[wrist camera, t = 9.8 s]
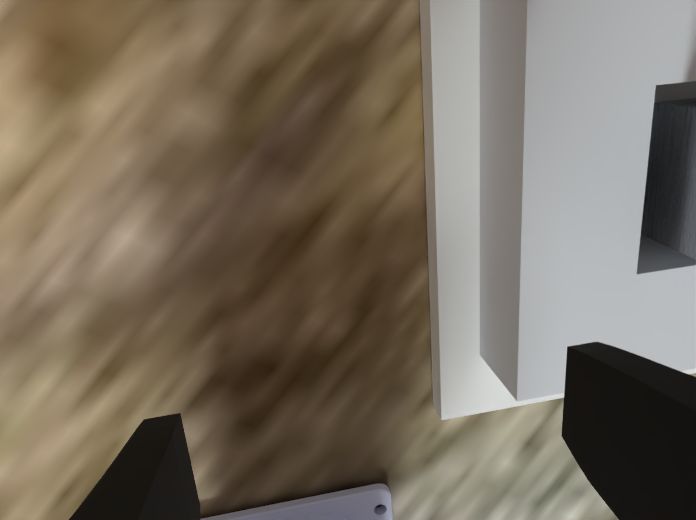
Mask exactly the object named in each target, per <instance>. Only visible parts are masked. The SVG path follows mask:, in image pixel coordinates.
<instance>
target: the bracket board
mask: <svg viewBox="0 0 696 520" xmlns="http://www.w3.org/2000/svg"><path fill="white" fill-rule="evenodd" d="M420 30H421V60H422V89H423V119H424V149H425V179H426V209H427V239H428V269H429V298H430V328H431V358H432V388H433V406H434V408H435V409H436V411H437V413H438V415H439V417H440V418H441V420H446V419H451V418H456V417H462V416H467V415H473V414H478V413H483V412H489V411H494V410H499V409H505V408H510V407H515V406H521V405H526V404H531V403H537V402H542V401H547V400H553V399H558V398H564V391H565V375H566V359H567V347H568V346H574V345H580V344H585V343H591V342H600V343H604V344H607V345H611V346H614V347H617V348H620V349H623V350H626V351H628V352H631V353H634V354H636V355H639V356H642V357H644V358H647V359H650V360H652V361H655V362H657V363H660V364H663V365H665V366H668V367H670V368H673V369H676V370H678V371H681V372H683V373H686V374H692V373H696V260H695V259H693V258H691V257H689V256H687V255H684V254H682V253H680V252H678V251H676V250H674V249H672V248H669V247H667V246H665V245H663V244H661V243H659V242H657V241H654V240H652V239H650V238H648V237H646V236H644V235H642V234H641V226H642V216H643V206H644V197H645V187H646V177H647V167H648V157H649V148H650V138H651V128H652V118H653V109H654V102H663V101H672V100H681V99H691V98H696V0H420Z"/></svg>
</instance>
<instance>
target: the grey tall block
mask: <svg viewBox="0 0 696 520" xmlns="http://www.w3.org/2000/svg"><path fill="white" fill-rule="evenodd" d="M641 234H642V235H644V236H646V237H648V238H650V239H652V240H654V241H657V242H659V243H661V244H663V245H665V246H667V247H669V248H672V249H674V250H676V251H678V252H680V253H682V254H684V255H687V256H689V257H691V258H693V259H695V260H696V98H691V99H681V100H672V101H663V102H654V109H653V118H652V128H651V138H650V148H649V157H648V167H647V177H646V187H645V197H644V206H643V216H642V226H641Z"/></svg>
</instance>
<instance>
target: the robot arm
mask: <svg viewBox="0 0 696 520" xmlns="http://www.w3.org/2000/svg"><path fill="white" fill-rule="evenodd" d="M562 437H563V439H564V441H565V442H566V444H567V446H568V448H569V449H570V451H571V453H572V455H573V456H574V458H575V460H576V461H577V463H578V465H579V466H580V468H581V469H582V471H583V473H584V474H585V476H586V477H587V479H588V480H589V482H590V483H591V485H592V486H593V487H594V489H595V490H596V491H597V492H598V494H599V495H600V496H601V497H602V499H603V500H604V501H605V503H606V504H607V505H608V506H609V508H610V509H611V510H612V511H613V513H614V514H615V515H616V516H617V518H618V519H619V520H696V377H694V376H691V375H689V374H686V373H683V372H681V371H678V370H676V369H673V368H670V367H668V366H665V365H663V364H660V363H657V362H655V361H652V360H650V359H647V358H644V357H642V356H639V355H636V354H634V353H631V352H628V351H626V350H623V349H620V348H617V347H614V346H611V345H607V344H604V343H600V342H591V343H585V344H580V345H574V346H568V347H567V359H566V375H565V391H564V407H563V423H562ZM380 504H383V505H382V506H381V507H379V508H375V507H376V506H377V505H380ZM69 520H393V511H392V496H391V493H390V491H389V488H388V487H387V486H386V485H385V484H382V483H381V484H372V485H367V486H362V487H357V488H352V489H347V490H342V491H337V492H332V493H327V494H322V495H317V496H312V497H307V498H302V499H297V500H292V501H287V502H282V503H277V504H272V505H267V506H262V507H257V508H252V509H247V510H242V511H237V512H232V513H227V514H222V515H217V516H212V517H207V518H202V519H200V503H199V499H198V494H197V489H196V485H195V480H194V475H193V471H192V466H191V461H190V456H189V452H188V447H187V442H186V438H185V433H184V428H183V424H182V419H181V414H180V413H179V414H173V415H167V416H161V417H155V418H150V419H144V420H143V421H142V423H141V424H140V425H139V426H138V428H137V429H136V430H135V432H134V433H133V435H132V436H131V437H130V439H129V440H128V442H127V443H126V444H125V446H124V447H123V449H122V450H121V451H120V453H119V454H118V456H117V457H116V458H115V460H114V461H113V463H112V464H111V465H110V467H109V468H108V469H107V471H106V472H105V474H104V475H103V476H102V478H101V479H100V480H99V481H98V483H97V484H96V485H95V487H94V488H93V489H92V491H91V492H90V493H89V495H88V496H87V497H86V499H85V500H84V501H83V502H82V504H81V505H80V506H79V508H78V509H77V510H76V511H75V513H74V514H73V515H72V516H71V518H70V519H69Z"/></svg>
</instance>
